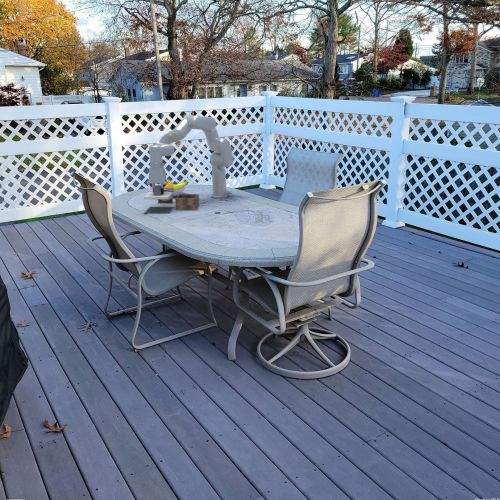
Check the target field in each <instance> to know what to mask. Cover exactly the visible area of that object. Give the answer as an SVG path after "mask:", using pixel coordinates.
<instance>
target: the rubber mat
mask: <svg viewBox="0 0 500 500" xmlns="http://www.w3.org/2000/svg"><path fill="white" fill-rule="evenodd" d="M174 208H175V206H149V207H148V208H147V209H146V210H145V211H144V212H143V214H144V215H148V214H170V213H171V212H172V211H173V210H174Z"/></svg>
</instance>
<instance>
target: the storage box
mask: <svg viewBox="0 0 500 500" xmlns="http://www.w3.org/2000/svg"><path fill="white" fill-rule="evenodd" d="M199 194H200V193H182V194H179V195H177V196H175V198H174V199H175V211H197V209H198V208H199V206H200V195H199Z"/></svg>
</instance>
